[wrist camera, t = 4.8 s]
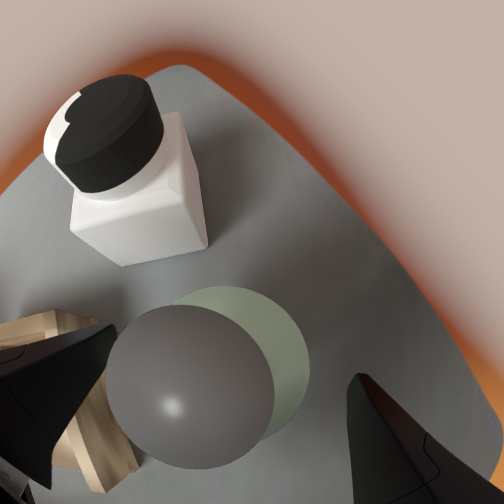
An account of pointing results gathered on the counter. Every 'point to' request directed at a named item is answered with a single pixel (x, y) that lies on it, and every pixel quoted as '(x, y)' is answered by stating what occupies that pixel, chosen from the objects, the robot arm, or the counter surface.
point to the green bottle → (207, 376)
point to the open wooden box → (80, 409)
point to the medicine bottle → (127, 172)
